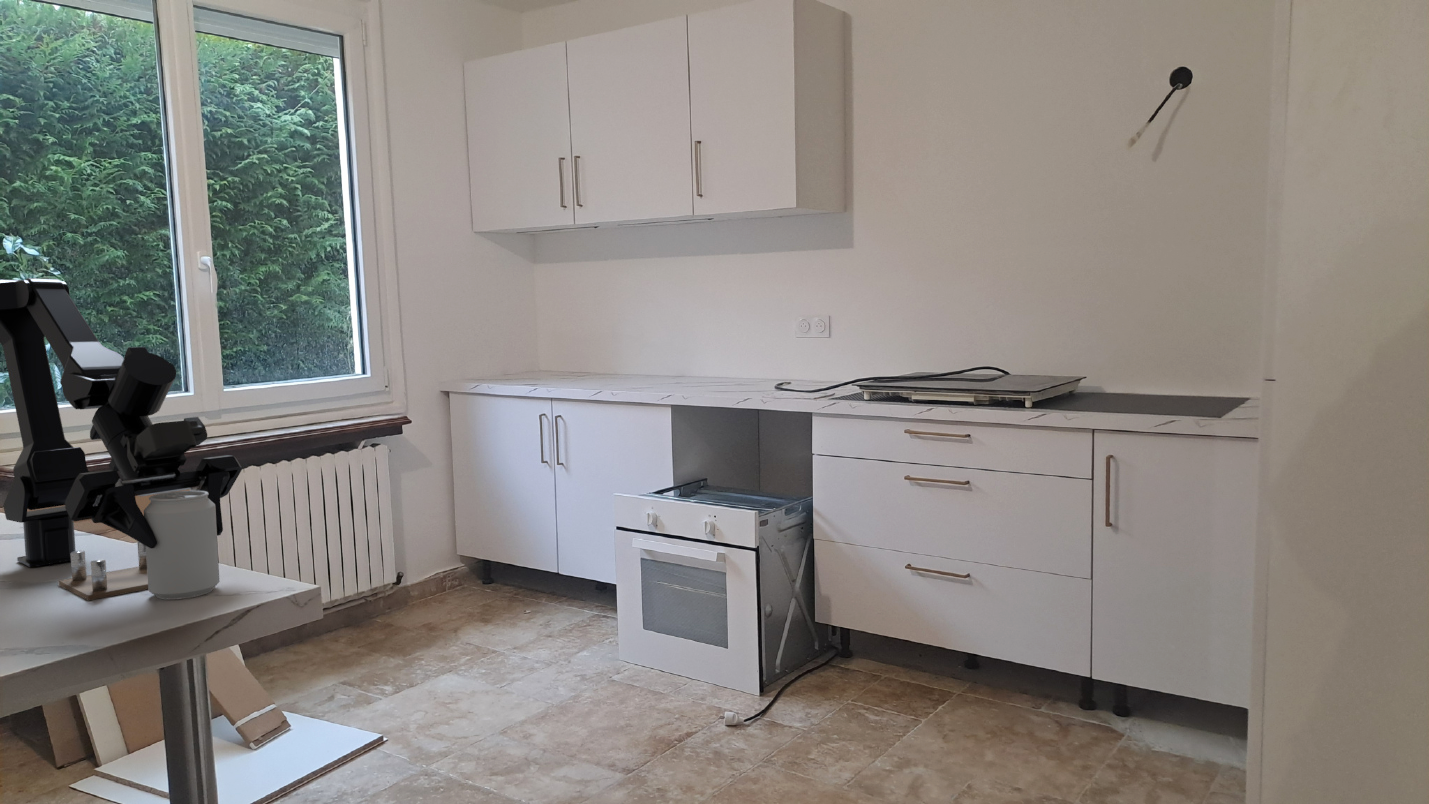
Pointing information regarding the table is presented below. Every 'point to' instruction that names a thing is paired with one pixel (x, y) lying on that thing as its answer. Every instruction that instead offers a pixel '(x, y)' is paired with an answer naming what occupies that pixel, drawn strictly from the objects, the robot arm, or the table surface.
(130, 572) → the standoff plate
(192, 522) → the can
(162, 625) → the table surface
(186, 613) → the table surface
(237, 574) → the table surface
